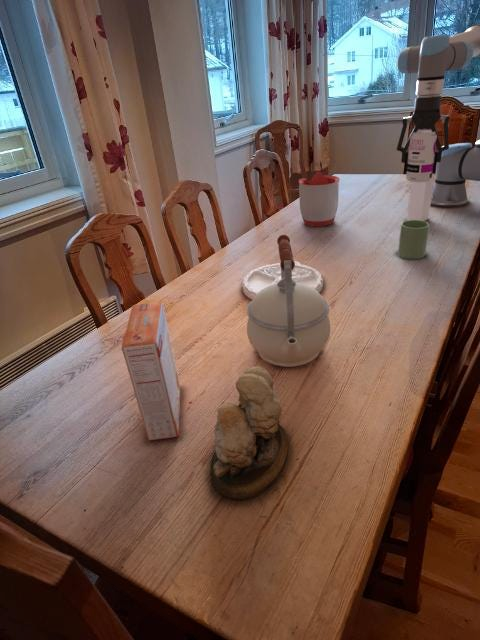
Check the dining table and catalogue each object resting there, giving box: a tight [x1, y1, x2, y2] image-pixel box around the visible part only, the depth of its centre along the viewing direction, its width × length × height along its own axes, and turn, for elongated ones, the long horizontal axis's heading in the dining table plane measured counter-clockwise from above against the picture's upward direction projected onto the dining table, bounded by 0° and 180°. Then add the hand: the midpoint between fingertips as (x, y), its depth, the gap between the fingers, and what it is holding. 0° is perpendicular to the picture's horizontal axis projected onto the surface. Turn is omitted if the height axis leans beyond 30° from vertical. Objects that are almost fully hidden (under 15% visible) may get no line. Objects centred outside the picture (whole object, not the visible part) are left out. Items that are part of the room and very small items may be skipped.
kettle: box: [246, 234, 331, 368], centre depth 90 cm, size 25×18×25 cm
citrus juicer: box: [298, 171, 340, 228], centre depth 169 cm, size 16×17×20 cm
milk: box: [406, 173, 436, 221], centre depth 161 cm, size 6×6×22 cm
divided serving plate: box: [242, 260, 324, 301], centre depth 127 cm, size 24×27×2 cm
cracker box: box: [121, 301, 182, 442], centre depth 77 cm, size 14×6×21 cm, turn 5°
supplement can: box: [405, 129, 437, 183], centre depth 139 cm, size 8×8×15 cm
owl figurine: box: [209, 365, 290, 501], centre depth 67 cm, size 18×12×17 cm, turn 157°
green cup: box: [397, 220, 430, 260], centre depth 136 cm, size 8×8×10 cm
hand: (419, 172), depth 142 cm, fingers closed on supplement can, 8 cm apart
